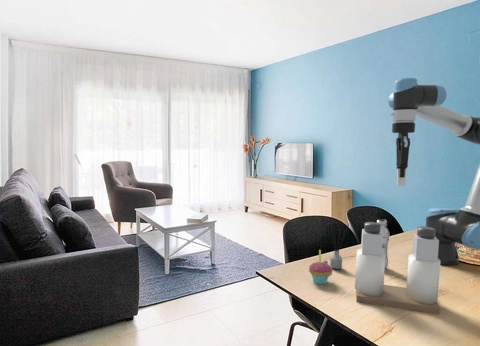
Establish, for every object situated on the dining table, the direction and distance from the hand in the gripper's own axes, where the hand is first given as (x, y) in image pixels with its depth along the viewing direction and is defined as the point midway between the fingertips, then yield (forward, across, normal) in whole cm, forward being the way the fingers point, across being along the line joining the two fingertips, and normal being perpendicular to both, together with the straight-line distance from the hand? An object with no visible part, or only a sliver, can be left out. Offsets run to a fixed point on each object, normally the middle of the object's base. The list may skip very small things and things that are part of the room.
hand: (400, 185), depth 126 cm
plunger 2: (+20, +20, +4) cm, 28 cm away
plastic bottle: (+36, -8, -6) cm, 37 cm away
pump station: (+35, +20, -4) cm, 41 cm away
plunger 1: (+20, +19, -12) cm, 30 cm away
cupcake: (+35, +13, -28) cm, 47 cm away
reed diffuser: (+35, -1, -24) cm, 42 cm away
